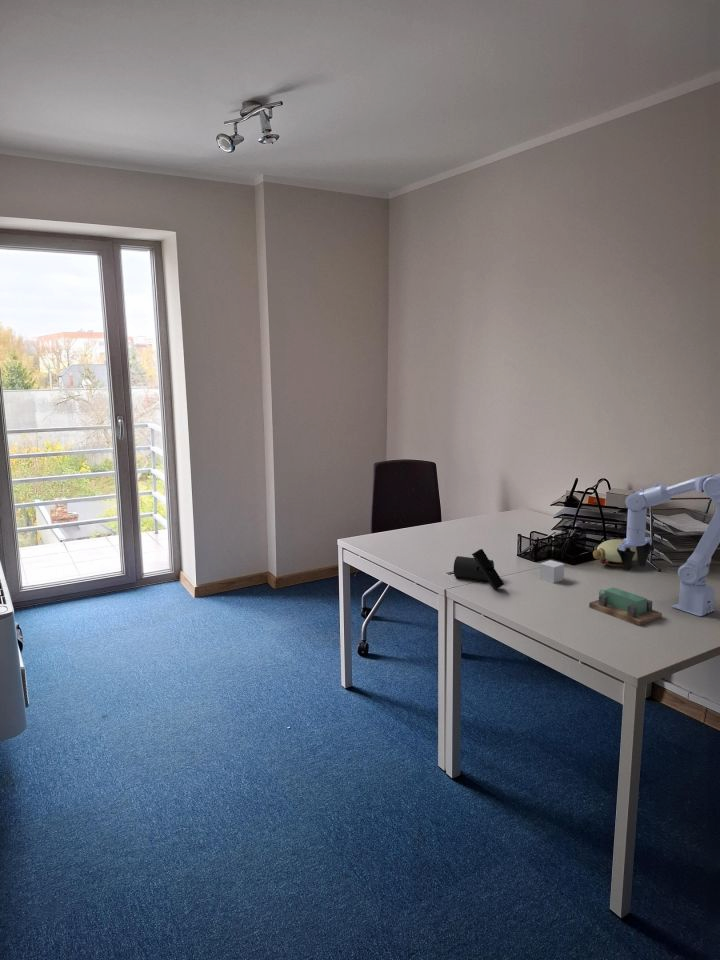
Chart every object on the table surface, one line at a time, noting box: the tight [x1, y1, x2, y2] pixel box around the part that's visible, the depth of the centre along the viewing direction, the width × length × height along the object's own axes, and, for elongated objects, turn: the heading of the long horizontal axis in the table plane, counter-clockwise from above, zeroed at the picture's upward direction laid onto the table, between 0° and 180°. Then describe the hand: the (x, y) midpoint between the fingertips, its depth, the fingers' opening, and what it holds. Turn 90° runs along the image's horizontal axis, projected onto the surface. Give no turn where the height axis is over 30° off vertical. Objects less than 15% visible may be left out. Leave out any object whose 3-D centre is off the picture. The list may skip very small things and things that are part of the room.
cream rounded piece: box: [592, 538, 637, 567], centre depth 248 cm, size 9×16×18 cm
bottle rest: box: [588, 595, 663, 627], centre depth 203 cm, size 18×11×4 cm, turn 32°
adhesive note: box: [539, 559, 565, 584], centre depth 234 cm, size 6×6×6 cm
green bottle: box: [598, 586, 648, 615], centre depth 204 cm, size 15×4×4 cm, turn 32°
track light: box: [453, 548, 505, 590], centre depth 233 cm, size 15×14×20 cm
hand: (634, 567), depth 216 cm, fingers open, 7 cm apart
